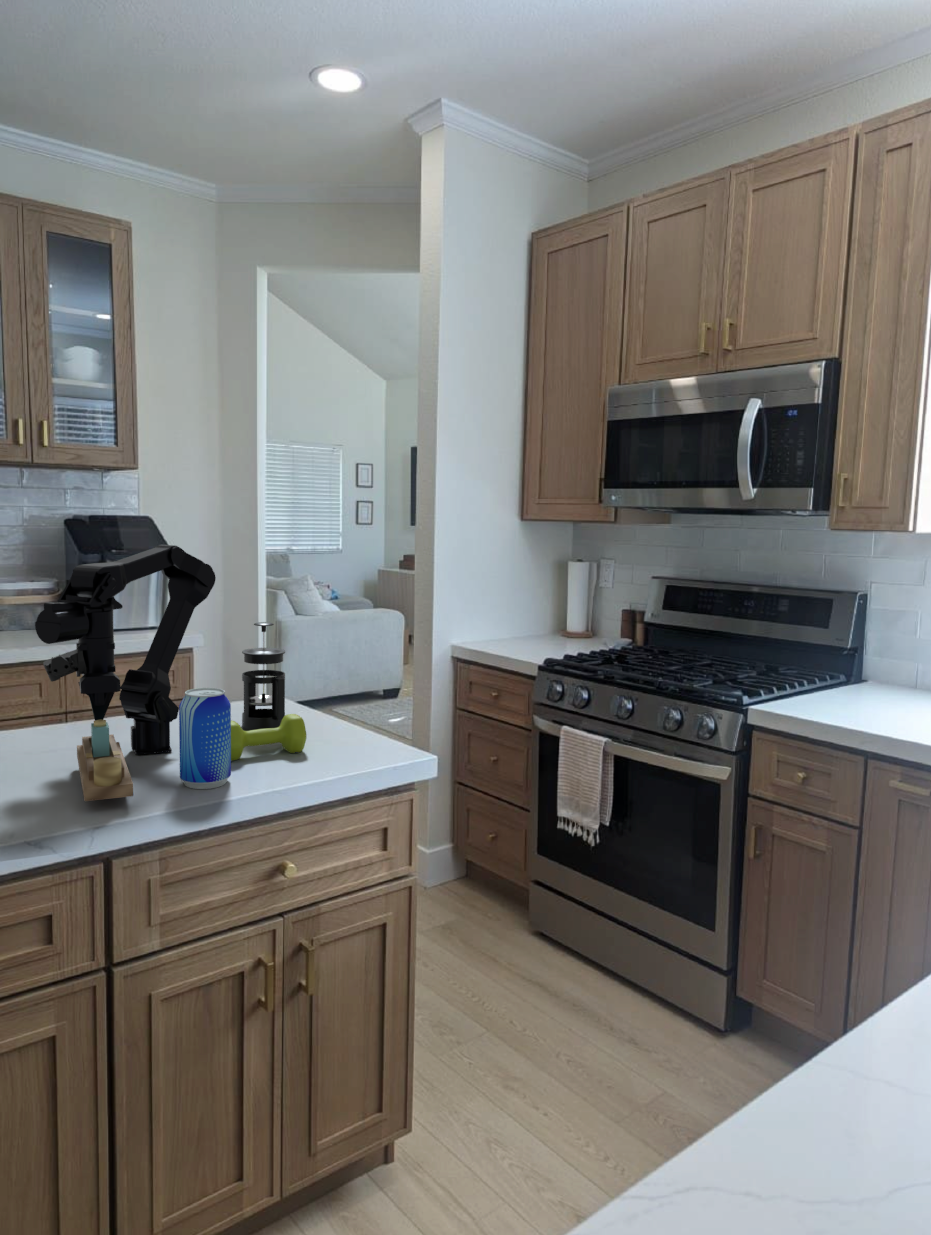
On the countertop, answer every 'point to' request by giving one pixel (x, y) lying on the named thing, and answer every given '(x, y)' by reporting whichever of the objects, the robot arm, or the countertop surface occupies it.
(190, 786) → the beer can
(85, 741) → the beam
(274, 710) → the french press
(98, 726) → the block
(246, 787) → the countertop surface
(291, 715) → the dumbbell
